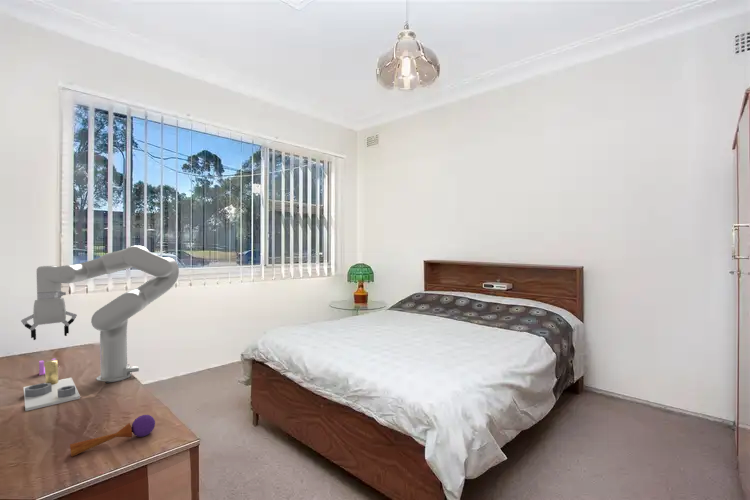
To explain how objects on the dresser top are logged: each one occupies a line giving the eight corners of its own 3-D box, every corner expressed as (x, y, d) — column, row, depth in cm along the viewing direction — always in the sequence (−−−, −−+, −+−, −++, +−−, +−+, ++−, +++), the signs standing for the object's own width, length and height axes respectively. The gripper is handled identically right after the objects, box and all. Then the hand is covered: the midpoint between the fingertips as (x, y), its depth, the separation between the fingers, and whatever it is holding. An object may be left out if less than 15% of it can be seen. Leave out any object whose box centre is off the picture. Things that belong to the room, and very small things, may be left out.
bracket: (56, 374, 168) (55, 359, 168) (39, 377, 164) (39, 361, 164) (56, 367, 178) (56, 353, 178) (40, 370, 174) (40, 355, 174)
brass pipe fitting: (59, 380, 157) (59, 359, 157) (56, 384, 153) (55, 362, 153) (47, 382, 155) (47, 360, 155) (43, 385, 152) (43, 363, 151)
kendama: (69, 437, 104) (151, 410, 117) (72, 459, 104) (154, 429, 117) (69, 441, 100) (155, 413, 113) (72, 464, 99) (157, 433, 112)
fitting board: (71, 379, 161) (71, 371, 161) (80, 398, 141) (79, 389, 141) (23, 389, 150) (23, 380, 150) (25, 411, 130) (25, 401, 130)
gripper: (75, 293, 163) (76, 332, 164) (21, 297, 152) (22, 339, 152) (76, 294, 158) (77, 335, 158) (19, 299, 146) (21, 342, 147)
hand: (50, 337), depth 155 cm, fingers open, 9 cm apart
